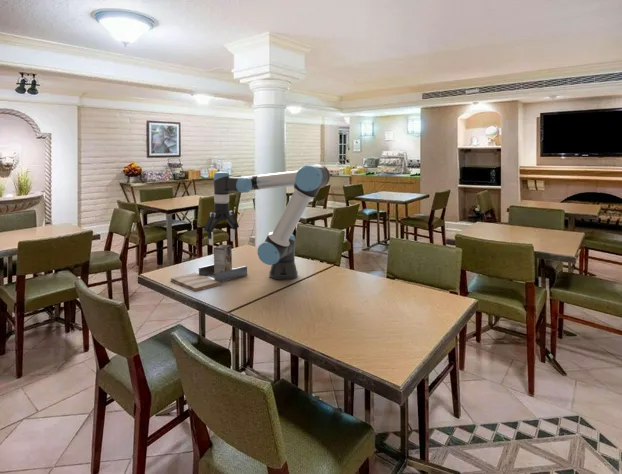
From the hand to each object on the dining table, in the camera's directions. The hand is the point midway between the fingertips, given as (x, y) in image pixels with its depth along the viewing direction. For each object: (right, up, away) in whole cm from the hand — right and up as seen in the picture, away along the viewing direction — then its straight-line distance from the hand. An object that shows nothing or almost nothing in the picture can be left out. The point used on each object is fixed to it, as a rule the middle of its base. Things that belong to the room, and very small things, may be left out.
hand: (222, 243), depth 216 cm
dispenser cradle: (0, -18, +4) cm, 18 cm away
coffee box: (0, -18, +4) cm, 18 cm away
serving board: (-11, -20, -9) cm, 25 cm away
